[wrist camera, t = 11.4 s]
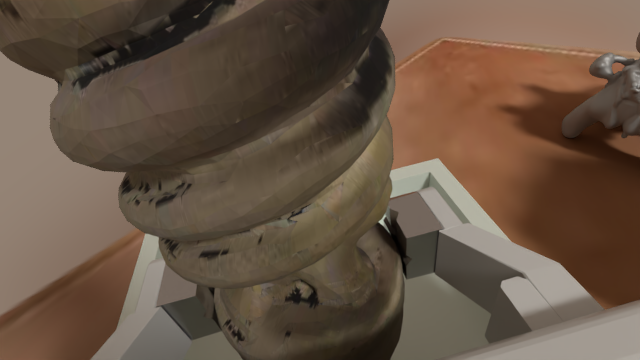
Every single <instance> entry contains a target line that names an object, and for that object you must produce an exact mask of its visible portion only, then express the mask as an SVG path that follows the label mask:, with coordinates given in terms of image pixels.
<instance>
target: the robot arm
mask: <svg viewBox="0 0 640 360" xmlns="http://www.w3.org/2000/svg"><path fill="white" fill-rule="evenodd" d="M385 215H386V217H385V219H384V220H383V221H384V227H385V229H386V230H387V231H388V232H389V234H390V235H391V237H392V238H393V240H394V241H395V243H396V246H397V248H398V250H399V253H400V257H401V262H402V269H403V273H404V276H405V278H406V280H407V279H411V278H415V277H419V276H423V275H427V274H431V273H435V275H437V276H438V277H440V278H441V279H442V280H444V281H445V282H447V283H448V284H450V285H451V286H452V287H454V288H455V289H457V290H458V291H459V292H461V293H462V294H464V295H465V296H466V297H468V298H469V299H471V300H472V301H474V302H475V303H476V304H478V305H479V306H481V307H482V308H483V309H485V310H486V311H488V312H489V313H491V316H490V320H489V323H488V326H487V329H486V332H485V335H484V336H485V338H486V339H487V341H488V343H489V344H486V345H483V346H480V347H476V348H473V349H469V350H466V351H462V352H459V353H456V354H452V355H449V356H445V357H442V358H439V359H435V360H640V300H637V301H633V302H630V303H626V304H623V305H619V306H616V307H613V308H609V309H606V310H605V309H604V308H603V307H602V306H601V305H600V304H599V303H598V302H597V301H596V300H595V299H594V298H593V297H592V296H591V295H590V294H589V293H588V292H587V291H586V290H585V289H584V288H583V287H582V286H581V285H580V284H579V283H578V282H577V281H576V280H575V279H574V278H573V277H572V276H571V274H570V273H569V272H568V271H567V270H566V269H565V268H564V267H563V266H562V265H561V264H560V263H558V262H556V261H553V260H551V259H549V258H546V257H544V256H542V255H540V254H537V253H535V252H533V251H531V250H528V249H526V248H524V247H522V246H519V245H517V244H515V243H513V242H510V241H508V240H506V239H504V238H501V237H499V236H497V235H495V234H492V233H490V232H488V231H485V230H483V229H481V228H479V227H476V226H474V225H472V224H470V223H465V224H463V223H462V222H461V221H460V219H459V218H458V217H457V216H456V214H455V213H454V212H453V211H452V209H451V208H450V207H449V205H448V204H447V203H446V202H445V200H444V199H443V198H442V197H441V195H440V194H439V193H438V191H437V190H436V189H435V188H434V187H429V188H425V189H421V190H418V191H415V192H410V193H407V194H403V195H400V196H396V197H392V198H390V200H389V204H388V208H387V211H386V213H385ZM214 290H215V288H213V287H204V286H200V285H197V284H195V283H192V282H189V281H186V280H184V279H183V278H182V277H180V276H179V275H178V274H176V273H175V272H174V271H173V270H171V269H170V268H169V267H168V266H167V265H166V263H165V261H164V259H163V258H161V259H156V260H152V261H151V262H150V263H149V265H148V267H147V270H146V274H145V277H144V281H143V284H142V288H141V291H140V295H139V299H138V302H137V306H136V309H135V313H134V314H131V315H128V317H127V318H126V319H125V320H124V321H123V322H122V324H121V325H120V326H119V327H118V328H117V329H116V331H115V332H114V333H113V334H112V335H111V336H110V337H109V339H108V340H107V341H106V342H105V343H104V344H103V346H102V347H101V348H100V349H99V350H98V351H97V353H96V354H95V355H94V356H93V357H92V358H91V359H90V360H183V359H184V357H185V355H186V353H187V351H188V350H189V348H190V346H191V344H192V340H195V339H198V338H201V337H205V336H208V335H211V334H214V333H218V332H221V331H222V329H221V327H220V325H219V322H218V318H217V314H216V310H215V304H214Z"/></svg>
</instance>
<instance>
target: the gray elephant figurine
mask: <svg viewBox="0 0 640 360" xmlns="http://www.w3.org/2000/svg"><path fill="white" fill-rule="evenodd" d="M636 48H637V51H638V52H639V53H640V33H639V35H638V37H637V41H636ZM616 62H618V63H621V64H623V65H625V67H624V68H623V70H622V71H618V72H617V73H615V74H613V72H612V68H611V67H612V64H613V63H616ZM589 72H590V74H591V75H593V76H595V77H598V78H604V79H607V80H608V83H607V84H606V85H605V88H604V89H603V90H601V91H600V92H598V93H597V94H595V95H594V96H592V97H591V98H589V99H588V100H586V101H585V102H583V103H582V104H581V105H579V106H578V107H576V108H575V109H574V110H573V111H572V112H571V113H569V114H568V115H567V116H566V117H565V118H564V119H563V121H562V133H563V135H564V136H565V137H568V138H573V137H576V136H578V135H579V134H580V133H581V132H582V131H583V130H584V129H585V128H587V127H588V126H590V125H592V124H594V123H596V122H598V121H600V122H602V123H603V124H604V126H605V127H606V128H608V129H612V128H615V127H618V126H620V125H622V127H623V133H622V135H621V137H622V138H626V137H627V136H628V135H629V136H634V135H640V58H639V60H634V59H627V58H625V57H622V56H619V55H614V54H613V53H607V54H604V55H602V56H600V57H599V58H597V59H596V60H595V61H594V62H593V64H591V66H590V68H589Z"/></svg>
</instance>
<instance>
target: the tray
mask: <svg viewBox="0 0 640 360" xmlns="http://www.w3.org/2000/svg"><path fill="white" fill-rule="evenodd" d="M390 178H391V180H392V188H393V189H392V193H391V196H390V198H392V197H396V196H400V195H403V194H407V193H410V192H415V191H418V190H421V189H425V188H429V187H434V188H435V189H436V190H437V191H438V193H439V194H440V195H441V197H442V198H443V199H444V200H445V202H446V203H447V204H448V205H449V207H450V208H451V209H452V211H453V212H454V213H455V214H456V216H457V217H458V218H459V219H460V221H461V222H462V223H463V224H465V223H470V224H472V225H474V226H476V227H479V228H481V229H483V230H485V231H488V232H490V233H492V234H495V235H497V236H499V237H501V238H504V239H506V240H508V241H510V240H509V238H508V237H507V236H506V235H505V234H504V233H503V232H502V231H501V229H500V228H499V227H498V226H497V225H496V224H495V223H494V221H493V220H492V219H491V218H490V217H489V216H488V215H487V214H486V212H485V211H484V210H483V209H482V208H481V207H480V206H479V204H478V203H477V202H476V201H475V200H474V199H473V198H472V197H471V195H470V194H469V193H468V192H467V191H466V190H465V189H464V187H463V186H462V185H461V184H460V183H459V182H458V181H457V179H456V178H455V177H454V176H453V175H452V174H451V173H450V172H449V170H448V169H447V168H446V167H445V166H444V165H443V164H442V162H441V161H440V160H439V159H438V158H437V159H433V160H429V161H426V162H422V163H418V164H414V165H410V166H406V167H402V168H398V169H395V170H391V172H390ZM385 217H386V215H385V214H384V216H383V218H382V219H381V220H380V221H379V223H380V224H381V225H383V226H384V221H383V220H384V219H385ZM158 241H159V237H157V236H153V235H150V234H145V237H144V241H143V244H142V247H141V250H140V254H139V257H138V260H137V263H136V267H135V270H134V273H133V276H132V280H131V283H130V286H129V289H128V293H127V296H126V299H125V303H124V306H123V309H122V312H121V316H120V319H119V322H118V325H117V328H118V327H119V326H120V325H121V324H122V322H123V321H124V320H125V319H126V318H127V317H128V315H131V314H134V313H135V309H136V306H137V302H138V299H139V295H140V291H141V288H142V284H143V281H144V277H145V274H146V270H147V267H148V265H149V263H150V262H151V261H152V260H156V259H161V258H163V257H162V254H161V252H160V250H159V243H158ZM510 242H511V241H510ZM403 276H404V273H403ZM404 283H405V295H404V305H403V322H402V328H401V334H400V339H399V342H398V344H397V346H396V348H395V350H394V353H393V355H392V357H391V359H390V360H435V359H439V358H442V357H445V356H449V355H452V354H456V353H459V352H462V351H466V350H469V349H473V348H476V347H480V346H483V345H486V344H489V343H488V341H487V339H486V338H485V336H484V335H485V332H486V329H487V326H488V323H489V320H490V316H491V313H489V312H488V311H486V310H485V309H483V308H482V307H481V306H479V305H478V304H476V303H475V302H474V301H472V300H471V299H469V298H468V297H466V296H465V295H464V294H462V293H461V292H459V291H458V290H457V289H455V288H454V287H452V286H451V285H450V284H448V283H447V282H445V281H444V280H442V279H441V278H440V277H438V276H437V275H435V273H431V274H427V275H423V276H419V277H415V278H411V279H407V280H406V278H405V276H404ZM183 360H243V359H242V358H241V356H240V355H239V353H238V352H237V351H236V350H235V349H234V348H233V347H232V345H231V344H230V343H229V342H228V340H227V339H226V337H225V335H224V334H223V332H222V331H221V332H218V333H214V334H211V335H208V336H205V337H201V338H198V339H195V340H192V344H191V346H190V348H189V350H188V351H187V353H186V355H185V357H184V359H183Z"/></svg>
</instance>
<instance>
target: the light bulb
mask: <svg viewBox="0 0 640 360" xmlns="http://www.w3.org/2000/svg"><path fill="white" fill-rule="evenodd" d="M388 3H389V0H0V51H1V52H2V53H3V54H4V55H5V56H6V57H7V58H9V59H10V60H11V61H13V62H15V63H17V64H19V65H20V66H22V67H24V68H26V69H28V70H31V71H33V72H36V73H39V74H41V75H44V76H47V77H49V78H52V79H55V81H56V82H57V83H58V94H57V96H56V97H55V98H54V100H53V101H52V103H51V104H50V129H51V133H52V136H53V139H54V141H55V143H56V144H57V146H58V148H59V149H60V151H62V152H63V153H64V154H65V155H66V156H67V157H68V158H70V159H71V160H72V161H73V162H77V163H80V164H83V165H86V166H90V167H93V168H96V169H99V170H102V171H114V172H126V174H125V177H124V179H123V181H122V183H121V185H120V187H119V193H118V198H119V207H120V209H121V211H122V213H123V214H124V216H125V218H126V219H127V221H128V222H130V223H131V224H132V225H134V226H135V227H136V228H138V229H139V230H141V231H142V232H144V233H146V234H150V235H153V236H157V237H159V241H158V243H159V250H160V252H161V254H162V257H163V259H164V261H165V263H166V265H167V266H168V267H169V268H170V269H171V270H173V271H174V272H175V273H176V274H178V275H179V276H180V277H182V278H183V279H184V280H186V281H189V282H192V283H195V284H197V285H200V286H204V287H213V288H215V290H214V304H215V310H216V314H217V318H218V322H219V325H220V327H221V329H222V332H223V334H224V335H225V337H226V339H227V340H228V342H229V343H230V344H231V345H232V347H233V348H234V349H235V350H236V351H237V352H238V353H239V355H240V356H241V358H242V359H243V360H390V359H391V357H392V355H393V353H394V350H395V348H396V346H397V344H398V342H399V339H400V334H401V328H402V322H403V305H404V295H405V283H404V276H403V269H402V262H401V257H400V253H399V250H398V248H397V246H396V243H395V241H394V240H393V238H392V237H391V235H390V234H389V232H388V231H387V230H386V229H385V227H384V226H383V225H381V224H380V223H379V221H380V220H381V219H382V218H383V216H384V214H385V213H386V211H387V208H388V204H389V200H390V196H391V193H392V189H393V188H392V180H391V178H390V172H391V168H392V163H393V139H392V127H391V124H390V122H389V119H388V117H387V112H388V110H389V107H390V104H391V101H392V97H393V94H394V91H395V56H394V54H393V51H392V48H391V46H390V43H389V42H388V40H387V38H386V36H385V34H384V32H383V31H382V29H381V28H380V27H381V23H382V21H383V18H384V15H385V12H386V9H387V6H388Z"/></svg>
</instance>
